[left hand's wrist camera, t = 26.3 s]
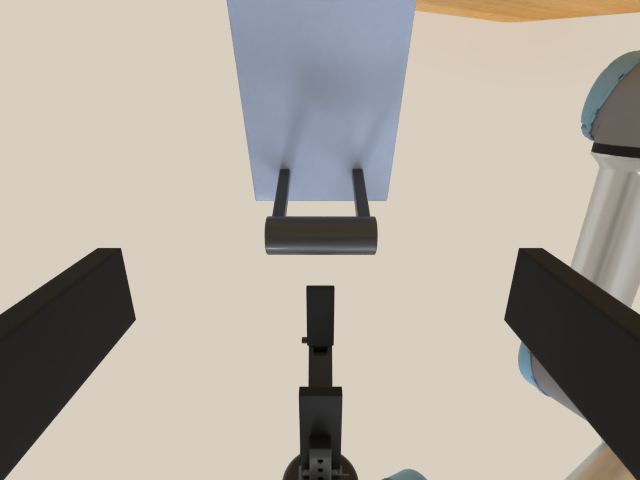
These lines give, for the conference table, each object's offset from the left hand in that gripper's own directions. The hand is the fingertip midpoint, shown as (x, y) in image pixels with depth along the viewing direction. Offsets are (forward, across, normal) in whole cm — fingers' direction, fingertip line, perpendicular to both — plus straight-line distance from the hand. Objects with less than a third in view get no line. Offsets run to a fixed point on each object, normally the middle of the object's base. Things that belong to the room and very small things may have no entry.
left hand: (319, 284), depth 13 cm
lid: (+13, 0, -6) cm, 14 cm away
